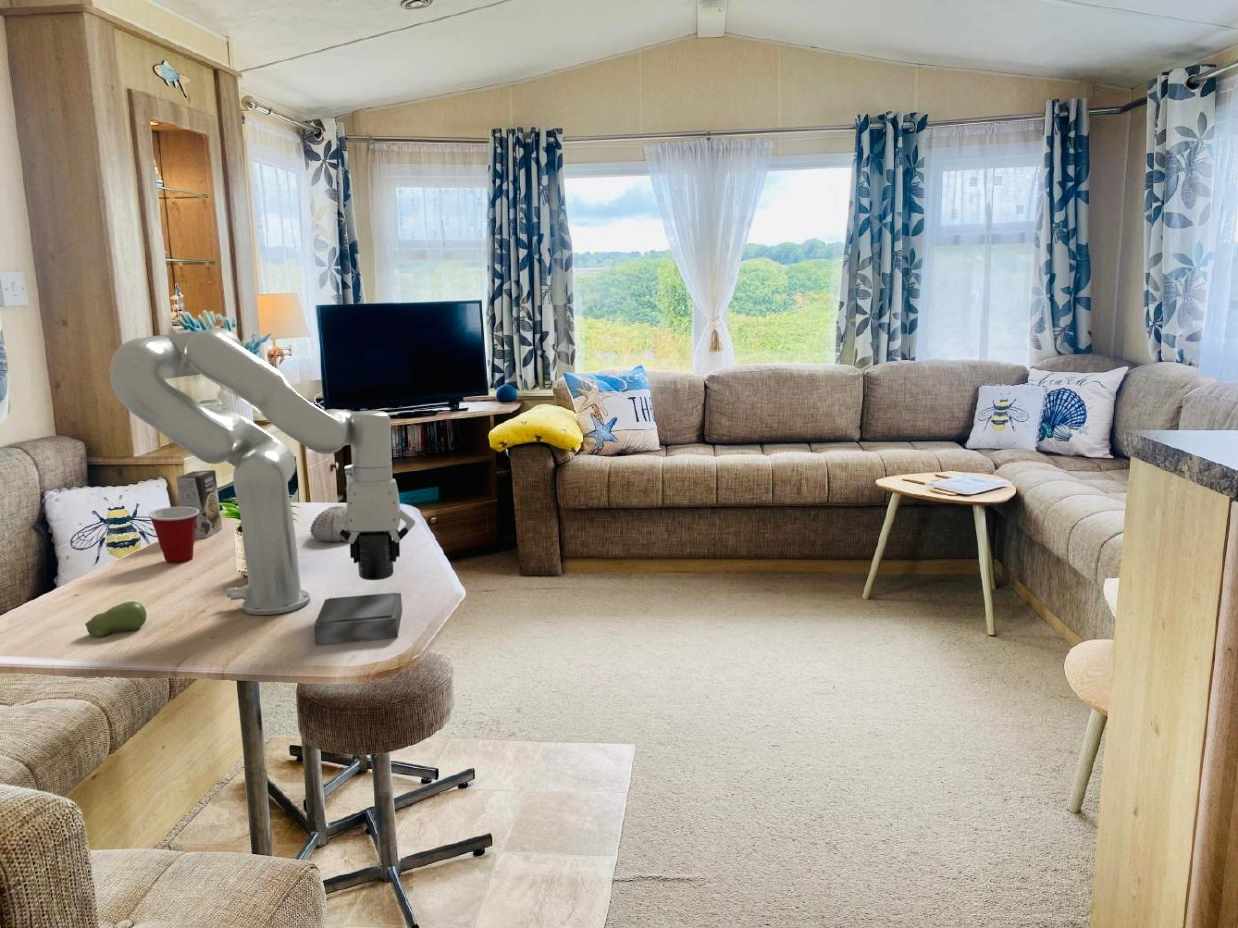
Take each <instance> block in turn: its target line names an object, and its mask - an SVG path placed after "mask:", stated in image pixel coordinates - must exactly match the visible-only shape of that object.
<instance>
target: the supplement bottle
mask: <svg viewBox="0 0 1238 928" xmlns="http://www.w3.org/2000/svg"><path fill="white" fill-rule="evenodd" d="M392 540H393V538H392V536H391V534H390V533H389V531H388V532H359V534H358V535H357V549H358V562H357V564H358V565H357V566H358V567H357V568H358V575H359V577H360V578H361V579H362V580H366V581H378V580H379V581H380V580H385V579H388V578H390V577H392V576H393V574H394V562H393V561H392Z"/></svg>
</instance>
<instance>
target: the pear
mask: <svg viewBox="0 0 1238 928" xmlns="http://www.w3.org/2000/svg"><path fill="white" fill-rule="evenodd" d="M147 615H148V614H147V611H146V609H145V607H144V605H143V604H141V603H140V602H138V601H127V602H122V603H120V604H117V605H114V606H112V607H111V608H109V609H108V610H107V611H104V612H101V613H98V614H96V615H94V616H93V617H91V619H90V620H88V621H87V622H85V624H84V625H85V627H86V629H87V630H86V631H87V632H88V633H89V635H90V636H91V637H92V639H99V638H102V637H104V636H106V635H107V634H109V633H110V632H112V631H116V630H117V631H118V630H119V631H134V630H137V629H140V628H141V627H142V626H143V625H144V624H145V623H146V620H147Z"/></svg>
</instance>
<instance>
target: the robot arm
mask: <svg viewBox="0 0 1238 928" xmlns="http://www.w3.org/2000/svg"><path fill="white" fill-rule="evenodd" d="M198 375H199V376H200V375H201V376H203V377H205V378H206V379H208V380H210V381H211V382H213V383H214V384H216V385H218V386H219V387H220V388H222V389H224V391H227V392H228V393H230V394H232V395H233V396H235V397H237V398H238V399H240V400H241V401H243V402H244V403H246V404H247V405H249V406H251V407H252V408H253V409H255V411H257V413H259V415H260V416H262V417H264V418H265V420H267V421H268V422H270V423H271V424H272V425H273V426H274V427H276V428H277V429H279V430H280V431H281V432H282V433H283V434H285V435H287V436H288V437H289V438H291V439H293V440H294V441H296V442H298V443H299V444H301V445H303V446H304V447H305V448H308V449H309V450H310V451H313V452H315V453H318V454H322V455H332V454H334V453H337V452H338V451H340V450H341V449H343V447H344V446H348V445H350V446H351V455H352V457H351V458H352V464H353V466H352V467H351V468H345V469H344V475H345V476H346V475H349V476H351V477H352V479H353V480H351V481H350V482H349V485H348V492H347V491H346V492H347V493H346V507H347V511H346V512H345V513H344V514H343V515H342V516H340V517H339V518H338V519H337V520H336V521H335V522H334V523H333V525H332V526H333V527H334V528H335V529H336V530H337V531H338V532H339V533H340V535H341V536H342V537H344V538H345V539H346V540H347V541H346V542H348V544H349V555H350V559H353V564H358V549H357V538H356V537H357V535H358V533H359V532H388V531H389V533H390V534H391V536H392V561H393V563H396V562H397V558H399V557H400V556H401V552H400V551H401V550H400V549H401V546H400V542H401V540H402V539H403V538H404V537H405V536H406V535H407V534H408V533H409V532H410V531H411V529H413V527H414V526H415V524H416V520H415V519H413V518H412V516H410V515H408V514H407V512H405V511H403V510H402V509H401V505H400V504H401V503H400V495H399V489H398V485H397V481H396V478H393V456H392V426H391V425H392V421H391V417H390V415H389V414H388V412H385V411H381V410H362V411H353V410H344V409H336V408H331V409H325V410H323V409H321V408H319V407H318V406H316V405H315V404H313V403H311V402H310V401H308V400H307V399H305V398H304V397H303V396H302V395H301V394H299V393H298V392H297V391H296V390H295V389H294V388H293V387H292V386H291V385H290V383H289V382H288V380H287V378H286V377H285V376H284V374H283V373H282V372H281V371H280V370H279V369H278V368H276V367H275V366H273V365H271V364H270V363H268V362H267V361H265V360H263V359H262V358H260V357H259V356H257V355H256V354H254V353H252V352H251V351H250V350H248V349H247V348H245V347H244V346H243V344H242V342H241V340H240V338H239V337H238V336H237V335H236V334H234V333H233V332H232V331H230V330H228V329H225V328H218V327H216V328H215V327H214V328H208V329H207V328H206V329H203V330H197V331H189V332H180V333H179V332H178V333H172V334H169V333H168V334H161V335H152V336H146V337H140V338H135V339H131V340H129V341H126V342H124V343H123V344H122V345H120V346H119V347H118V348H117V349H116V350H115V352H114V353H113V356H112V358H111V362H110V366H109V376H110V377H109V378H110V384H111V387H112V389H113V392H114V393H115V395H116V398H117V399H118V400H119V402H121V404H122V405H123V406H124V407H125V408H126V409H127V410H128V412H130V413H131V414H133V415H134V416H135V417H137V418H138V419H140V420H141V421H143V422H144V423H145V424H147V425H149V426H150V427H151V428H152V429H153V428H154V429H155V430H156V431H158V432H159V433H160V434H162V435H164V436H165V437H166V438H167V439H169V440H170V441H172V442H173V443H175V444H176V445H177V446H180V447H181V448H182V449H184V450H185V451H187V452H188V453H190V454H191V455H193V457H196V458H197V459H199V460H200V461H202V462H204V463H207V464H212V465H213V464H214V465H218V464H221V463H224V462H227V463H228V464H231V465H232V466H233V467H234V470H233V474H232V475H233V479H232V480H233V489H234V494H235V497H236V501H237V505H238V511H239V516H240V525H241V532H242V540H243V549H244V559H245V564H246V565H245V566H246V574H247V581H248V582H247V583H248V584H246V585H243V586H242V587H238V586H237V587H235V586H234V587H227V588H226V596H227V598H228V599H229V598H230V601H236V600H243V602H242V604H241V605H242V610H243V612H245V613H247V614H250V615H255V616H268V615H269V616H271V615H278V614H283V613H289V612H292V611H295V610H298V609H301V608H302V607H305V606H306V605H307V604H309V603H310V600H311V596H310V592H308V591H307V590H305V589H301V588H302V587H301V578H300V570H299V569H300V568H299V560H298V559H299V557H298V552H297V551H298V550H297V540H296V532H295V525H294V523H295V522H294V515H293V514H294V513H293V508H292V507H293V506H292V502H291V498H290V492H289V484H288V483H289V481H290V480H291V479H292V477H293V476H294V474H295V472H296V465H297V464H296V458H295V456H294V454H293V452H292V450H291V449H290V447H288V446H287V445H286V444H284V443H283V442H282V441H280V440H279V439H278V438H277V437H275V436H273V435H272V434H271V433H269V432H267V431H266V430H264V429H263V428H261V426H259V425H257V424H256V423H254V422H253V421H251V420H250V419H248V418H247V417H245V416H244V415H242V414H240V413H238V412H236V411H233V410H229V409H216V410H210V409H209V408H207V407H205V406H204V405H203V404H201V403H200V402H198V401H197V400H195V399H194V398H192V397H191V396H190V395H188V394H187V393H185V392H183V391H181V390H180V389H177V387H174V386H172V385H170V384H169V383H168V382H167V380H168V379H174V378H181V377H191V376H198ZM352 464H351V465H352ZM346 520H347V528H348V530H350V531H352V533H350V532H349V531H348V530H347V529H345V528H344V527H343V525H342V524H343V523H344V522H345V521H346ZM401 520H402V521H404V523H405V525H404V526H403V527H402V528H401V529H400V530H399V527H400V526H401V525H400V524H401Z"/></svg>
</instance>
